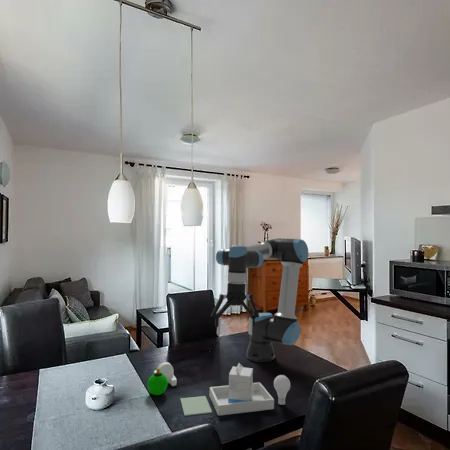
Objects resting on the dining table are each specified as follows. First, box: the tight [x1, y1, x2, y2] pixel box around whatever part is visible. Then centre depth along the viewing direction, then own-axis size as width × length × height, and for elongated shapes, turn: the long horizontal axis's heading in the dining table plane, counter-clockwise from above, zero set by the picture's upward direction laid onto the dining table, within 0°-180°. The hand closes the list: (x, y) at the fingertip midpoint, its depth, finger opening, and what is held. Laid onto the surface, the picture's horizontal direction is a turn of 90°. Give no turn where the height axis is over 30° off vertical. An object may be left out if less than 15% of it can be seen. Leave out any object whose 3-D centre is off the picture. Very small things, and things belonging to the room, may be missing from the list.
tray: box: [208, 381, 275, 416], centre depth 127 cm, size 22×15×4 cm
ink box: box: [228, 362, 254, 403], centre depth 127 cm, size 9×8×13 cm
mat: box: [179, 395, 213, 417], centre depth 123 cm, size 10×12×1 cm
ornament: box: [146, 367, 169, 396], centre depth 131 cm, size 8×8×10 cm
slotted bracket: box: [153, 361, 178, 387], centre depth 144 cm, size 13×7×8 cm, turn 27°
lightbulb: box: [273, 374, 291, 406], centre depth 126 cm, size 6×6×11 cm
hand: (234, 334), depth 135 cm, fingers open, 13 cm apart
